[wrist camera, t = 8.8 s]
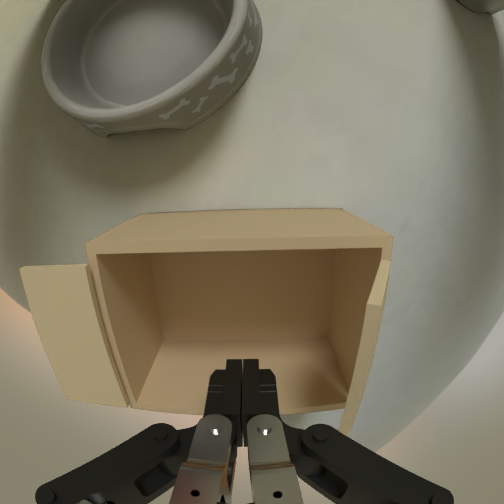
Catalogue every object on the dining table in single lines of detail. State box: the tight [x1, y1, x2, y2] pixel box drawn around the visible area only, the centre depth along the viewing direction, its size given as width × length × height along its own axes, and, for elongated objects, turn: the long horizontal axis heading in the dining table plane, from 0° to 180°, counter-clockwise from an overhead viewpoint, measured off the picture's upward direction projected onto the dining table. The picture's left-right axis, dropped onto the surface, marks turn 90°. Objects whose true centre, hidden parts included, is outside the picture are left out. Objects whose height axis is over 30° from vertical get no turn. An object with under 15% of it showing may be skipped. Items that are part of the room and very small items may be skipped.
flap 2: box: [338, 260, 391, 437], centre depth 12 cm, size 1×10×5 cm, turn 1°
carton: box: [85, 208, 393, 415], centre depth 20 cm, size 16×12×9 cm
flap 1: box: [19, 264, 129, 407], centre depth 14 cm, size 1×10×5 cm
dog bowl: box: [41, 0, 262, 138], centre depth 15 cm, size 17×18×5 cm
